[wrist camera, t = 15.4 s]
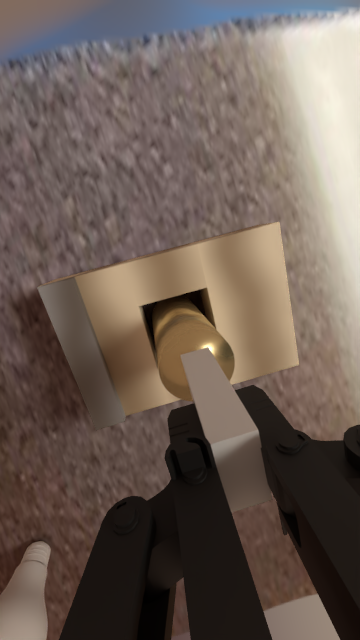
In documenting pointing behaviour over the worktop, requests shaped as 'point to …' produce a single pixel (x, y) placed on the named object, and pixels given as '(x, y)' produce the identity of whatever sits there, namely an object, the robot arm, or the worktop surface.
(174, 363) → the brass cylinder
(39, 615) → the lightbulb
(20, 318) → the worktop surface
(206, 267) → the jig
